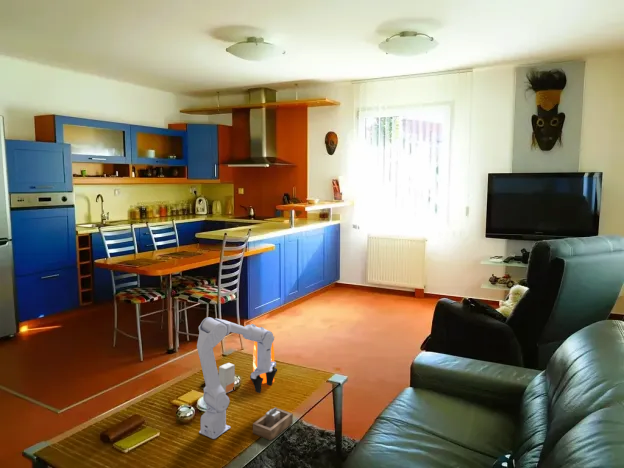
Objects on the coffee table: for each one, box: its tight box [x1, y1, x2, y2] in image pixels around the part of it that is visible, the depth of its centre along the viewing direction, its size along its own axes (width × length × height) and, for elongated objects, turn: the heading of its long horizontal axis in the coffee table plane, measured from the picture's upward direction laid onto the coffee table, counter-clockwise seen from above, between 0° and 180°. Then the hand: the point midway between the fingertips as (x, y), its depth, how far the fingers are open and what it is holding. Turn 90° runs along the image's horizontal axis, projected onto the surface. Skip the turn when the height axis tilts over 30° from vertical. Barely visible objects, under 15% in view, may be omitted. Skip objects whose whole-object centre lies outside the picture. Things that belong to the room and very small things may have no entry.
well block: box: [252, 407, 294, 441], centre depth 183 cm, size 14×8×4 cm, turn 148°
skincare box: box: [218, 362, 236, 394], centre depth 212 cm, size 6×4×12 cm
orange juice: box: [252, 341, 275, 384], centre depth 223 cm, size 8×9×20 cm
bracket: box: [265, 407, 280, 428], centre depth 183 cm, size 4×4×7 cm
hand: (263, 388), depth 195 cm, fingers open, 7 cm apart
